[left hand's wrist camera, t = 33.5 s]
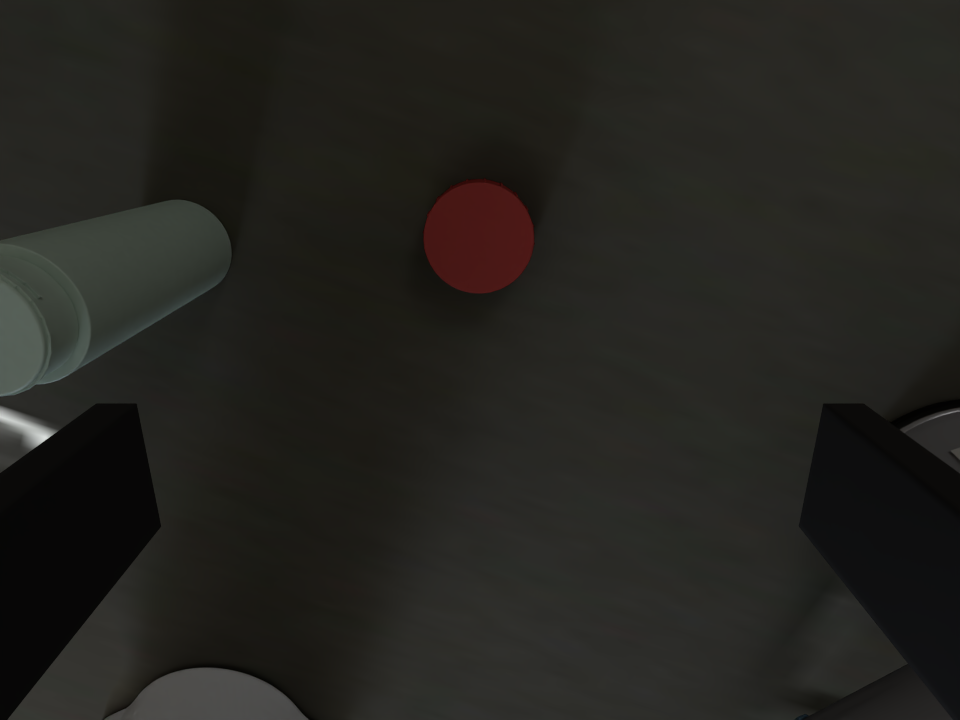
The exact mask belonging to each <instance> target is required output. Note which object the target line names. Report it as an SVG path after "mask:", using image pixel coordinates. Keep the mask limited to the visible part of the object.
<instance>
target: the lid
mask: <svg viewBox="0 0 960 720" xmlns="http://www.w3.org/2000/svg"><path fill="white" fill-rule="evenodd" d="M427 216H428V217H427V220H426V223H425V228H424V231H423V233H424V250H425V252H426V256H427V258H428V261H429V263H430V265H431V267H432V268H433V270H434V271H435V272H436V274H437V275H438V276H439V277H440V278H441V279H442V280H444V281H445V282H446V283H447V284H449V285H450V286H452V287H454V288H456V289H458V290H461V291H464V292H469V293H489V292H493V291H496V290H499V289H502V288H504V287H506V286H507V285H509V284H510V283H512V282H513V281H514V280H515V279H517V278H518V277H519V276H520V274H521V273H522V272H523V271H524V269H525V268H526V266H527V264H528V262H529V261H530V258H531V255H532V251H533V247H534V244H535V243H534V230H533V227H534V225H533V223H532V221H531V218H530V216H529V213H528V208H527V207H526V205H525V206H524V204H523V203H522V201H521V200H520V199H519V197H518V195H517V193H516V192H513V191H511V190H510V189H509V188H507V187H506V186H504V185H503V184H502V183H501V182H500V183H497V182H494V181H491V180H486V178H484V179H472V180H468V179H466V181H463V182H461V183H458V184H456V185H454V186H452V185H451V186H450V188H449V189H448V190H446V191H445V192H444V193H443V194H442V195H441V196H438V197H437V199H436V203H435V204H434V206H433V207H432V209H431V211H429V212H428V214H427Z"/></svg>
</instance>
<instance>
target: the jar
mask: <svg viewBox="0 0 960 720" xmlns="http://www.w3.org/2000/svg"><path fill="white" fill-rule="evenodd" d="M231 257H232V250H231V243H230V240H229V237H228V234H227V232H226V230H225V228H224V227H223V225H222V224H221V222H220V221H219V220H218V219H217V218H216V217H215V215H213V214H212V213H211V212H210V211H209V210H207V209H206V208H204V207H202V206H200V205H198V204H196V203H193V202H190V201H186V200H169V201H164V202H160V203H156V204H151V205H147V206H143V207H139V208H135V209H130V210H126V211H122V212H118V213H114V214H110V215H105V216H101V217H97V218H93V219H89V220H84V221H80V222H76V223H72V224H68V225H63V226H59V227H55V228H51V229H47V230H43V231H38V232H34V233H30V234H26V235H22V236H17V237H13V238H9V239H5V240H1V241H0V396H8V395H15V394H18V393H20V392H23V391H26V390H28V389H30V388H31V387H33V386H34V385H35V384H45V383H51V382H54V381H57V380H60V379H62V378H64V377H66V376H68V375H69V374H71V373H73V372H74V371H76V370H78V369H79V368H81V367H82V366H84V365H86V364H87V363H89V362H91V361H92V360H94V359H96V358H97V357H99V356H101V355H102V354H104V353H106V352H107V351H109V350H111V349H112V348H114V347H116V346H117V345H119V344H121V343H122V342H124V341H125V340H127V339H129V338H130V337H132V336H134V335H135V334H137V333H139V332H140V331H142V330H144V329H145V328H147V327H149V326H150V325H152V324H154V323H155V322H157V321H159V320H160V319H162V318H163V317H165V316H167V315H168V314H170V313H172V312H173V311H175V310H177V309H178V308H180V307H182V306H183V305H185V304H187V303H188V302H190V301H192V300H193V299H195V298H197V297H198V296H200V295H202V294H203V293H205V292H206V291H208V290H210V289H211V288H213V287H215V286H216V285H217V284H219V283H220V282H221V281H222V279H223V278H224V277H225V275H226V274H227V272H228V270H229V267H230V263H231Z"/></svg>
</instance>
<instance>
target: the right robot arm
mask: <svg viewBox="0 0 960 720" xmlns="http://www.w3.org/2000/svg"><path fill="white" fill-rule="evenodd" d="M104 720H309V719H308V718H306V717H305V716H304V715H303V714H302V713H301V711H300V710H299V709H298V708H297V707H296V706H295V704H294V703H293V702H292V701H291V700H290V699H289V698H288V697H287V696H285V695H284V694H283V693H282V692H280V691H279V690H278V689H276V688H275V687H273V686H272V685H270V684H268V683H266V682H264V681H262V680H260V679H258V678H256V677H253V676H251V675H248V674H245V673H241V672H238V671H233V670H228V669H222V668H191V669H185V670H180V671H176V672H173V673H170V674H167V675H165V676H163V677H161V678H159V679H157V680H155V681H154V682H152V683H151V684H149V685H148V686H147V687H146V688H145V689H143V690H142V692H141V693H140V694H139V695H138V696H137V698H136V699H135V700H134V701H133V703H132V704H131V705H130V706H128V707H127V708H126V709H123V710H121V711H119V712H116V713H114V714H112V715H110V716H108V717H107V718H105V719H104Z"/></svg>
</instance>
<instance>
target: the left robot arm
mask: <svg viewBox="0 0 960 720" xmlns="http://www.w3.org/2000/svg"><path fill="white" fill-rule="evenodd" d="M160 527H161V523H160V518H159V513H158V508H157V503H156V498H155V493H154V488H153V483H152V478H151V473H150V469H149V464H148V459H147V454H146V449H145V444H144V439H143V434H142V429H141V424H140V419H139V414H138V409H137V404H95V405H94V406H92V407H91V408H90V409H88V410H87V411H86V412H84V413H83V414H81V415H80V416H79V417H77V418H76V419H75V420H73V421H72V422H70V423H69V424H68V425H66V426H65V427H63V428H62V429H61V430H59V431H58V432H57V433H55V434H54V435H52V436H51V437H50V438H48V439H47V440H45V441H44V442H43V443H41V444H40V445H39V446H37V447H36V448H34V449H33V450H32V451H30V452H29V453H28V454H26V455H25V456H23V457H22V458H21V459H19V460H18V461H16V462H15V463H14V464H12V465H11V466H10V467H8V468H7V469H5V470H4V471H3V472H1V473H0V720H7V719H8V718H9V717H10V715H11V714H12V713H13V712H14V710H15V709H16V708H17V707H18V705H19V704H20V703H21V702H22V700H23V699H24V698H25V697H26V695H27V694H28V693H29V692H30V690H31V689H32V688H33V687H34V685H35V684H36V683H37V682H38V680H39V679H40V678H41V677H42V675H43V674H44V673H45V672H46V670H47V669H48V668H49V666H50V665H51V664H52V663H53V661H54V660H55V659H56V658H57V656H58V655H59V654H60V653H61V651H62V650H63V649H64V648H65V646H66V645H67V644H68V643H69V641H70V640H71V639H72V638H73V636H74V635H75V634H76V633H77V631H78V630H79V629H80V628H81V626H82V625H83V624H84V623H85V621H86V620H87V619H88V618H89V616H90V615H91V614H92V612H93V611H94V610H95V609H96V607H97V606H98V605H99V604H100V602H101V601H102V600H103V599H104V597H105V596H106V595H107V594H108V592H109V591H110V590H111V589H112V587H113V586H114V585H115V584H116V582H117V581H118V580H119V579H120V577H121V576H122V575H123V574H124V572H125V571H126V570H127V569H128V567H129V566H130V565H131V564H132V562H133V561H134V560H135V559H136V557H137V556H138V555H139V553H140V552H141V551H142V550H143V548H144V547H145V546H146V545H147V543H148V542H149V541H150V540H151V538H152V537H153V536H154V535H155V533H156V532H157V531H158V530H159V528H160ZM799 527H800V528H801V530H802V531H803V532H804V533H805V535H806V536H807V537H808V538H809V540H810V541H811V542H812V543H813V545H814V546H815V547H816V548H817V550H818V551H819V552H820V553H821V555H822V556H823V557H824V559H825V560H826V561H827V562H828V564H829V565H830V566H831V567H832V569H833V570H834V571H835V572H836V574H837V575H838V576H839V577H840V579H841V580H842V581H843V582H844V584H845V585H846V586H847V587H848V589H849V590H850V591H851V592H852V594H853V595H854V596H855V597H856V599H857V600H858V601H859V602H860V604H861V605H862V606H863V607H864V609H865V610H866V611H867V612H868V614H869V615H870V616H871V618H872V619H873V620H874V621H875V623H876V624H877V625H878V626H879V628H880V629H881V630H882V631H883V633H884V634H885V635H886V636H887V638H888V639H889V640H890V641H891V643H892V644H893V645H894V646H895V648H896V649H897V650H898V651H899V653H900V654H901V655H902V656H903V658H904V659H905V660H906V661H907V663H908V664H907V665H905V666H903V667H901V668H899V669H897V670H895V671H894V672H892V673H890V674H888V675H886V676H884V677H882V678H880V679H878V680H876V681H875V682H873V683H871V684H869V685H867V686H865V687H863V688H861V689H859V690H858V691H856V692H854V693H852V694H850V695H848V696H846V697H844V698H842V699H841V700H839V701H837V702H835V703H833V704H831V705H829V706H827V707H825V708H824V709H822V710H820V711H818V712H816V713H814V714H812V715H810V716H808V715H806V714H804V715H801V716H799V717H797V718H796V719H795V720H960V400H952V401H946V402H941V403H937V404H933V405H929V406H926V407H923V408H921V409H918V410H915V411H913V412H911V413H908V414H906V415H904V416H902V417H900V418H899V419H897V420H895V421H893V422H892V423H890V422H888V421H887V420H885V419H884V418H883V417H881V416H880V415H879V414H877V413H876V412H874V411H873V410H872V409H870V408H869V407H868V406H866V405H865V404H823V409H822V414H821V419H820V424H819V429H818V434H817V439H816V444H815V449H814V454H813V459H812V464H811V468H810V473H809V478H808V483H807V488H806V493H805V498H804V503H803V508H802V513H801V518H800V523H799Z"/></svg>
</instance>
